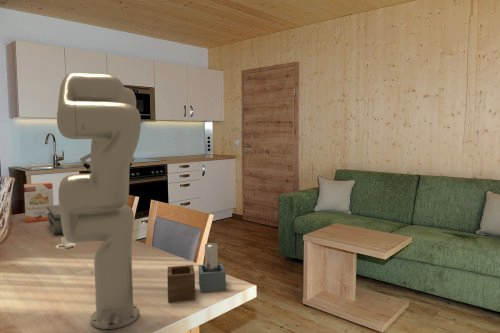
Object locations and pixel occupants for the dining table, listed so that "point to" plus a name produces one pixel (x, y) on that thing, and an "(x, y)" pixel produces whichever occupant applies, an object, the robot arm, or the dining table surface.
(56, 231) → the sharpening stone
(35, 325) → the dining table surface
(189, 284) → the brown wooden socket block
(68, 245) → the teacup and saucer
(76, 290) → the dining table surface
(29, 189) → the cracker box
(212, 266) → the steel axle
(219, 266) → the blue-grey square holder
